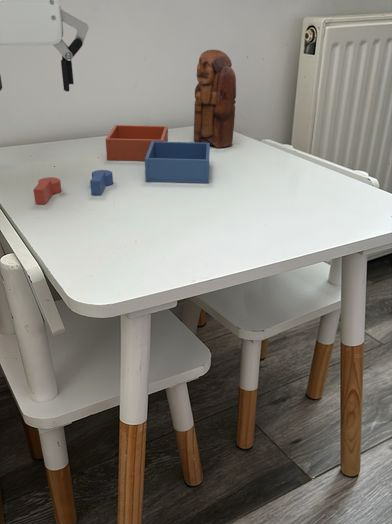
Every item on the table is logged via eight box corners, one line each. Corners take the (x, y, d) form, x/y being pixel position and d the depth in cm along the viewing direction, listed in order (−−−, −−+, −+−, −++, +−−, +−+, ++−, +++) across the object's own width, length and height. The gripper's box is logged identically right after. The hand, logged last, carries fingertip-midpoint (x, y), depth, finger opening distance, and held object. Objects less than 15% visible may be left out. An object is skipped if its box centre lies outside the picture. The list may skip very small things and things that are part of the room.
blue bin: (145, 181, 99) (144, 158, 97) (152, 162, 109) (151, 141, 107) (208, 183, 99) (209, 160, 97) (209, 163, 109) (209, 142, 107)
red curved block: (51, 204, 89) (49, 189, 87) (29, 204, 89) (26, 189, 87) (63, 187, 95) (61, 173, 94) (42, 187, 95) (40, 173, 94)
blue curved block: (106, 195, 93) (105, 181, 91) (85, 194, 93) (83, 180, 91) (114, 180, 99) (113, 166, 98) (94, 179, 99) (93, 166, 98)
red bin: (106, 160, 110) (105, 139, 108) (116, 144, 120) (114, 124, 118) (163, 161, 110) (163, 140, 107) (168, 145, 120) (167, 126, 118)
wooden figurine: (184, 138, 125) (184, 48, 115) (206, 134, 128) (208, 46, 118) (217, 150, 117) (221, 54, 107) (240, 145, 121) (245, 52, 111)
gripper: (82, -53, 76) (93, 85, 85) (-52, -57, 73) (-25, 86, 83) (82, -55, 69) (93, 94, 79) (-65, -59, 67) (-34, 95, 77)
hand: (33, 90), depth 81 cm, fingers open, 9 cm apart
